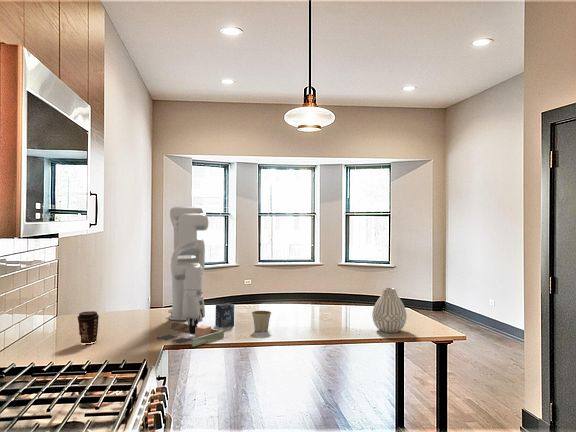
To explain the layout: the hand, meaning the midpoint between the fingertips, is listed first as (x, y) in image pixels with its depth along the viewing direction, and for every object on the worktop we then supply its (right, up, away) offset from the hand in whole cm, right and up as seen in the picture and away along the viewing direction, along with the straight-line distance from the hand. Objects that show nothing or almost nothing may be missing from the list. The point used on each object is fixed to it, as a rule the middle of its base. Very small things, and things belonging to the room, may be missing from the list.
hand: (193, 333), depth 227 cm
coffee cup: (-42, -1, -13) cm, 44 cm away
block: (+5, -1, -1) cm, 5 cm away
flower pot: (+30, -1, +11) cm, 32 cm away
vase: (+91, -2, +11) cm, 92 cm away
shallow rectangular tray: (-5, -1, -1) cm, 5 cm away
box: (+12, -1, +21) cm, 24 cm away
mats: (-7, -1, -5) cm, 9 cm away
